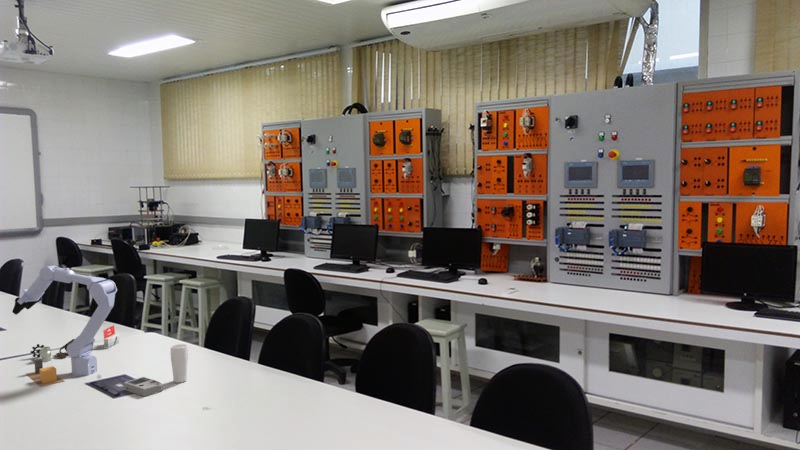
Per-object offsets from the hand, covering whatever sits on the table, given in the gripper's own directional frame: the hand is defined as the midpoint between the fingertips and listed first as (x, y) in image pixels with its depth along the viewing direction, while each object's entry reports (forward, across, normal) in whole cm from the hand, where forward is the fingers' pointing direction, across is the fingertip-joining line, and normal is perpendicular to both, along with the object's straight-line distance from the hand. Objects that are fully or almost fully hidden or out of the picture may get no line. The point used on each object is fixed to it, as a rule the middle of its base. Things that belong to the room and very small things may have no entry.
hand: (20, 310), depth 256 cm
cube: (+7, +15, +32) cm, 36 cm away
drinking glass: (-29, +12, +74) cm, 80 cm away
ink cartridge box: (+14, -42, +33) cm, 56 cm away
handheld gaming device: (-22, +23, +66) cm, 73 cm away
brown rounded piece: (+21, -26, +22) cm, 41 cm away
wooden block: (+10, +11, +30) cm, 33 cm away
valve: (+26, -19, +16) cm, 36 cm away
